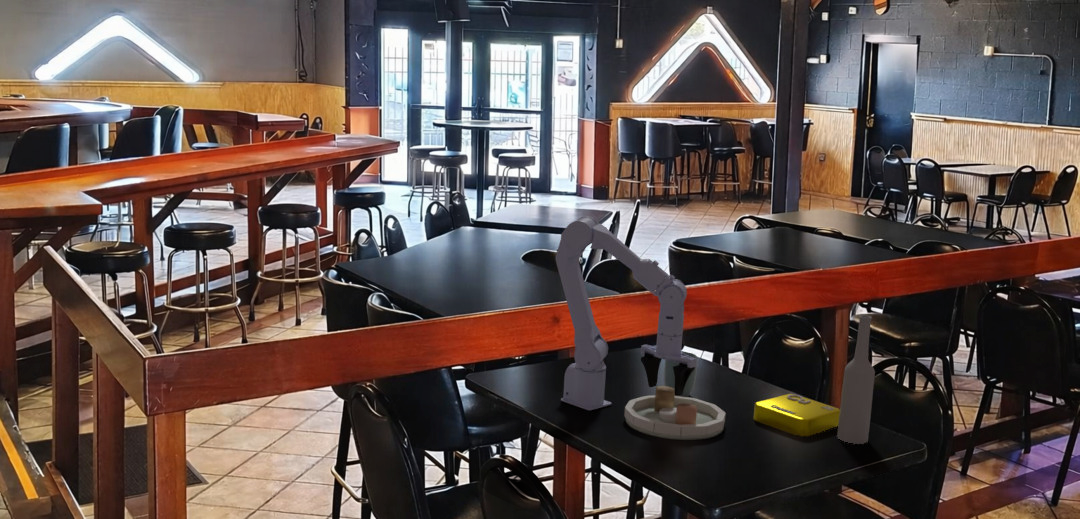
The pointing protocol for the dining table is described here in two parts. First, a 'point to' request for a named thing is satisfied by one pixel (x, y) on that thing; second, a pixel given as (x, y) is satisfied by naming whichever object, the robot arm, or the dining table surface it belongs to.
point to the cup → (670, 377)
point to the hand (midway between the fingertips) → (665, 390)
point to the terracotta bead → (686, 414)
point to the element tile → (796, 414)
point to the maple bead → (664, 397)
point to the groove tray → (674, 419)
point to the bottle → (857, 390)
